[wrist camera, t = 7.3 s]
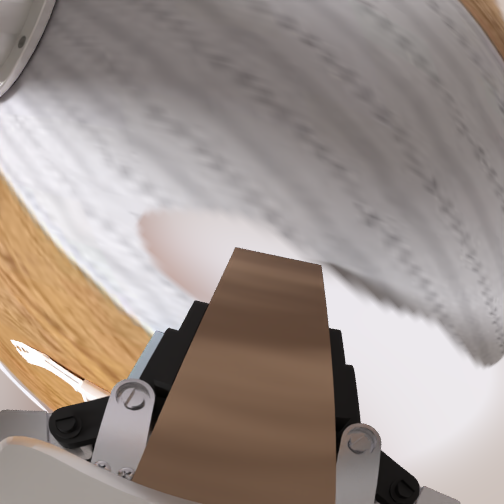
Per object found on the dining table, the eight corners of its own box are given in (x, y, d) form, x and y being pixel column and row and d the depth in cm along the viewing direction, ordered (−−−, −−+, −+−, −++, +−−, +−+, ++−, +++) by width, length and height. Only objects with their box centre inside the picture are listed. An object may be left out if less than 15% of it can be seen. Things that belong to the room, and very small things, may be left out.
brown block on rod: (214, 242, 13) (64, 509, 3) (341, 269, 13) (377, 565, 2) (199, 437, 22) (165, 545, 12) (262, 450, 22) (242, 562, 11)
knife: (-12, 338, 26) (-28, 299, 22) (-5, 332, 27) (-20, 292, 23) (167, 456, 25) (173, 435, 22) (172, 445, 27) (179, 421, 23)
